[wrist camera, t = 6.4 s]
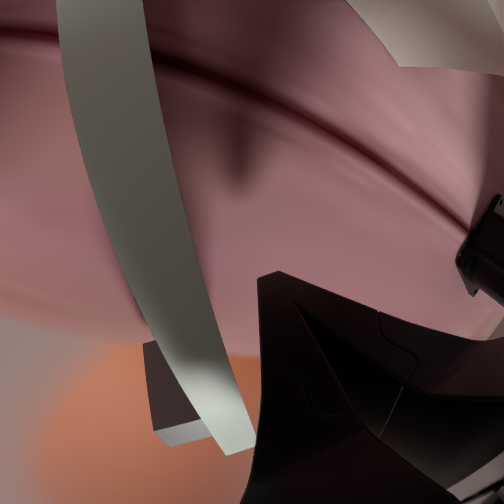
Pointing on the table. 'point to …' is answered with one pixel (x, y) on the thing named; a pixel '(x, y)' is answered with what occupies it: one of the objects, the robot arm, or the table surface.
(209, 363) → the side door
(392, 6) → the camera case
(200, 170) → the table surface
